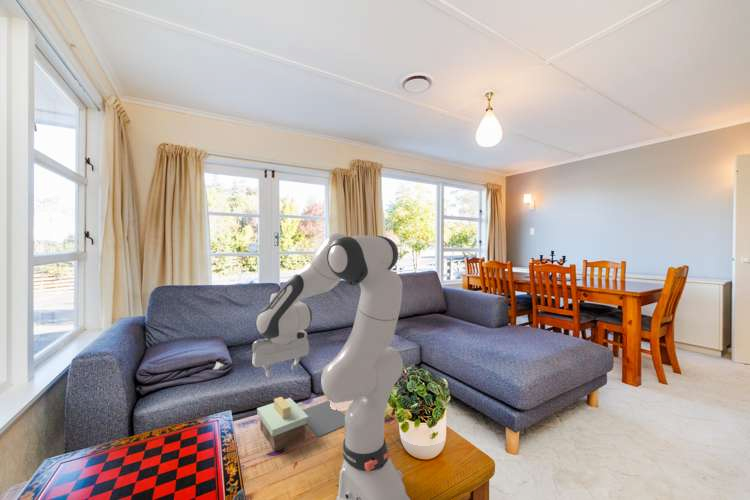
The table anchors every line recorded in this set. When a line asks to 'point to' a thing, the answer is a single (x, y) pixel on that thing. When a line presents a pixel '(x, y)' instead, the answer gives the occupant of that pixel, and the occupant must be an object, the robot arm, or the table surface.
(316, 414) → the mat
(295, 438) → the box
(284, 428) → the lid
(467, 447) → the table surface
